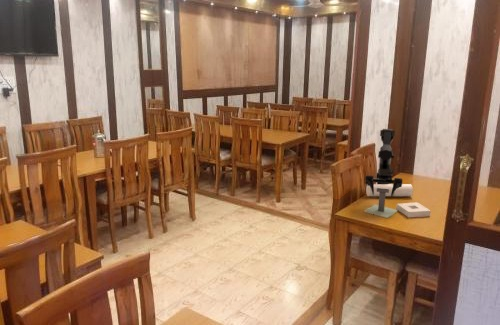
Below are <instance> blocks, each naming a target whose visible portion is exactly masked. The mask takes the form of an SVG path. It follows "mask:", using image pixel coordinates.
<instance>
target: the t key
mask: <svg viewBox="0 0 500 325" xmlns="http://www.w3.org/2000/svg"><path fill="white" fill-rule="evenodd" d="M377 192H380V194H379V196H378V205H379V206H378V211H381V212H384V207H386V206H385V202H386V196H385V195H386V193H389V189H381V188H377Z"/></svg>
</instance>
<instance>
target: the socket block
mask: <svg viewBox="0 0 500 325" xmlns="http://www.w3.org/2000/svg"><path fill="white" fill-rule="evenodd" d="M395 210H398V212H400V213H401V214H402V215H405V217H407V218H408V219H409V218H422V217H423V218H424V217H431V210H430V209H429V208H427V207H426V206H424V205H423V204H421V203H419V202H406V203H405V202H403V203H396V209H395Z"/></svg>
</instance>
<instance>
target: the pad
mask: <svg viewBox="0 0 500 325" xmlns="http://www.w3.org/2000/svg"><path fill="white" fill-rule="evenodd" d="M378 206H379V204H373V205H372V206H370V207H369V208H366V209H365V210H364V211H363V212H364V213H366V214H369V213H370V214H369V215H373V214H374V215H373V216H377V217H381V218H384V219H389V218H391V217H392V216H393V215H394V214H396V213H397V212H399V211H398V210H397V209H395V208H390V207H387V206H384V212H381V211H378Z"/></svg>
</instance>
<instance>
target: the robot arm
mask: <svg viewBox="0 0 500 325" xmlns="http://www.w3.org/2000/svg"><path fill="white" fill-rule="evenodd" d="M379 133H380V134H379V136H380V137H381V138H380V141H381V142H382V146H381V147H380V148H379V149H380V150H378V154H377V155H378V156H377V158H378V159H379V162H378V163H379V164H378V170H377V172H376V177H375V178H374V175H369V174H367V175H365V181H364V182H365V185H367V184H368V186H370V188H371V190H372V193H373V195H374V184H393V188H392V193H391V196H390V197H393V196H392V195H393V193H394V191H395V190H396V189H397V188H399V187H402V184H403V179H402V177H394V179H393V174H394V168H391V162H392V160H393V159H394V158H395V154H394V152H393V148H392V147H391V144H392V142H393V140H394V138H395V137H396V130H394V129H393V128H392V129H391V128H389V129H388V128H383V129H381V130H380V132H379Z"/></svg>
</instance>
